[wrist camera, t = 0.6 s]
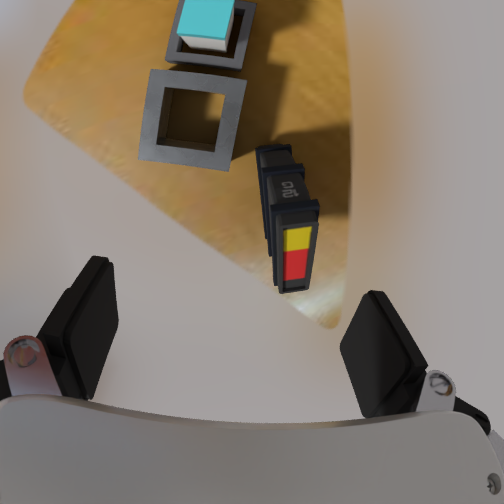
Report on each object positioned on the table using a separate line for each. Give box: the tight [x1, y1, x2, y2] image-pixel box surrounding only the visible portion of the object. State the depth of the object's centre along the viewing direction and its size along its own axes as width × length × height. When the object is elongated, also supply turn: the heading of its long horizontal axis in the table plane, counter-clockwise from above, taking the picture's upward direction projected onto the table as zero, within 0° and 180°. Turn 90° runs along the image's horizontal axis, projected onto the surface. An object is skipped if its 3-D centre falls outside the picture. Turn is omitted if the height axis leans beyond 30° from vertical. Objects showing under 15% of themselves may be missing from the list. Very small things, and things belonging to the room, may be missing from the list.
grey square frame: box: [165, 0, 257, 72], centre depth 25 cm, size 8×8×3 cm
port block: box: [138, 69, 247, 172], centre depth 29 cm, size 10×10×5 cm
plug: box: [177, 0, 235, 53], centre depth 23 cm, size 4×4×9 cm
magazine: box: [255, 144, 320, 294], centre depth 31 cm, size 4×13×15 cm, turn 7°
